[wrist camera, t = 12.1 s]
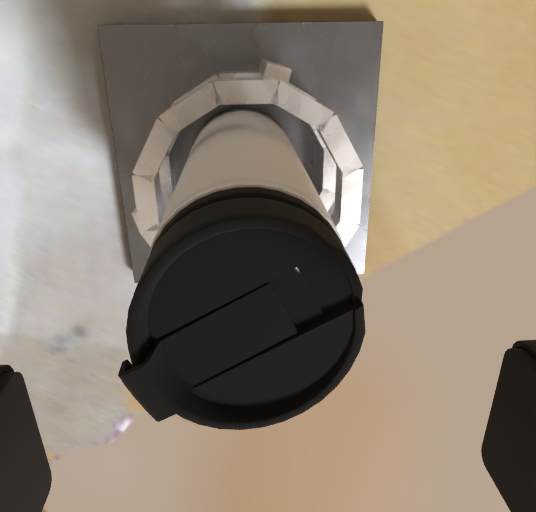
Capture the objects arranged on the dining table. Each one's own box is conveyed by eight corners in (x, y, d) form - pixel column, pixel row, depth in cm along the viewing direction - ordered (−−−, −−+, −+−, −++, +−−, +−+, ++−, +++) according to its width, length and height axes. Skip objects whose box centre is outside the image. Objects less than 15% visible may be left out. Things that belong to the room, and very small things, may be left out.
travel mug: (167, 141, 29) (52, 311, 11) (263, 88, 28) (312, 175, 10) (219, 226, 31) (195, 479, 13) (308, 179, 31) (415, 383, 12)
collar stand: (102, 25, 27) (48, 19, 19) (377, 21, 28) (432, 14, 20) (138, 275, 34) (108, 345, 26) (360, 266, 35) (395, 332, 27)
